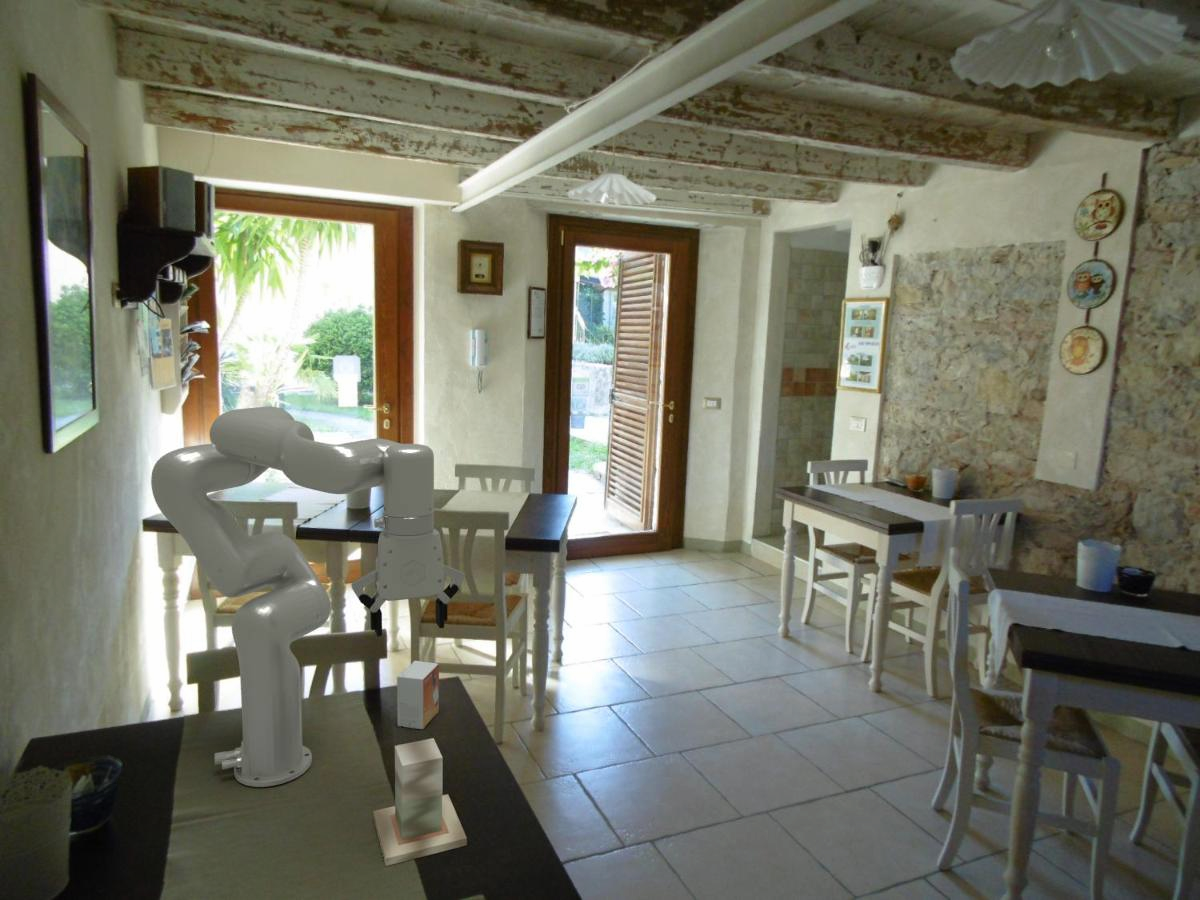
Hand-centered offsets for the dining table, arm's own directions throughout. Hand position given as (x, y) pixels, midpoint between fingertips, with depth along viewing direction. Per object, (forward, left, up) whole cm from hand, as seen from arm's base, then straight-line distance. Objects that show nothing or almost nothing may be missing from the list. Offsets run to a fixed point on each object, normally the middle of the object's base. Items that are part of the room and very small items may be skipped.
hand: (409, 629), depth 119 cm
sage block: (0, -7, -29) cm, 30 cm away
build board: (0, -7, -30) cm, 31 cm away
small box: (+7, +28, -31) cm, 42 cm away
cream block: (0, -7, -23) cm, 24 cm away
